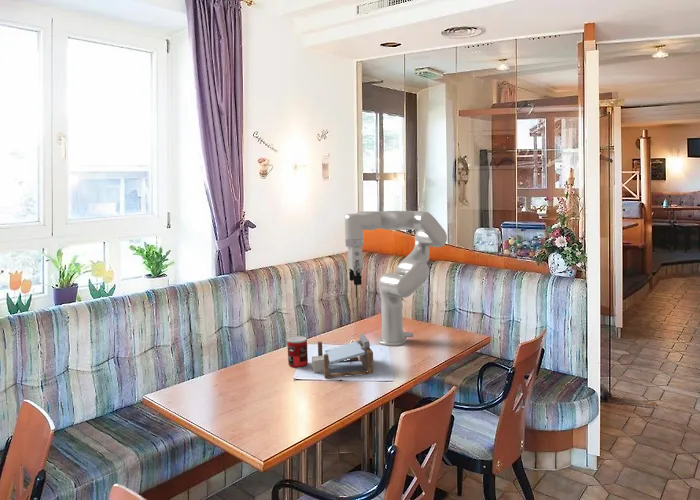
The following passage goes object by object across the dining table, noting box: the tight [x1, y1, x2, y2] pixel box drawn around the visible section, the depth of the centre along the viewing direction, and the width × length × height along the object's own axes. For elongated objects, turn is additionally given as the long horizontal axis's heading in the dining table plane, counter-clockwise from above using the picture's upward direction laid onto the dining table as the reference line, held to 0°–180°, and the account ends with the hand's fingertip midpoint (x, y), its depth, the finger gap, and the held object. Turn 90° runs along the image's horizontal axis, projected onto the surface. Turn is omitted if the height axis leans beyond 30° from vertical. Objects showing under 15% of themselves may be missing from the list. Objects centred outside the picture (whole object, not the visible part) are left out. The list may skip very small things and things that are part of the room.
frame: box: [317, 341, 374, 379], centre depth 231 cm, size 19×18×9 cm
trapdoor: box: [324, 333, 371, 365], centre depth 231 cm, size 17×14×4 cm
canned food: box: [286, 335, 309, 369], centre depth 237 cm, size 8×8×11 cm
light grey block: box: [311, 355, 324, 374], centre depth 230 cm, size 5×5×6 cm
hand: (355, 282), depth 249 cm, fingers open, 9 cm apart
